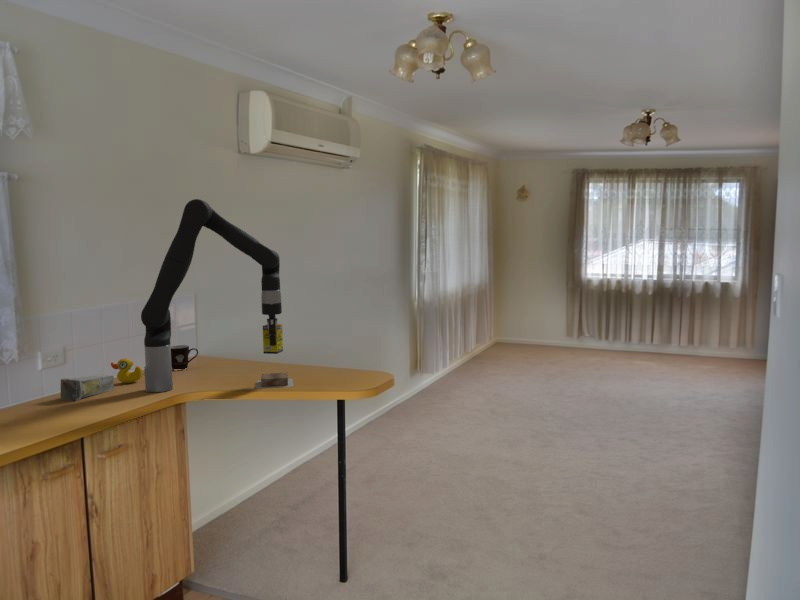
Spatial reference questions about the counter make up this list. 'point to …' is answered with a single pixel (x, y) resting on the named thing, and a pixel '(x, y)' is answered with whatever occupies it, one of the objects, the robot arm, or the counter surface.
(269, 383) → the base block
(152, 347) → the robot arm
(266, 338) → the supplement box
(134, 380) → the duckling
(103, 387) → the block
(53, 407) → the counter surface
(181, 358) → the coffee mug
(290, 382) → the pad
